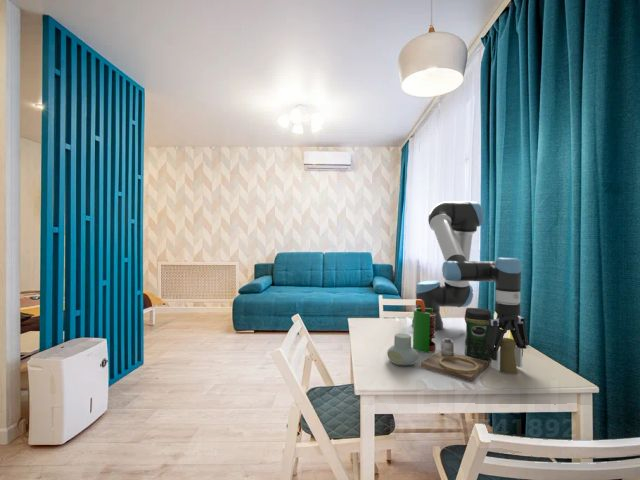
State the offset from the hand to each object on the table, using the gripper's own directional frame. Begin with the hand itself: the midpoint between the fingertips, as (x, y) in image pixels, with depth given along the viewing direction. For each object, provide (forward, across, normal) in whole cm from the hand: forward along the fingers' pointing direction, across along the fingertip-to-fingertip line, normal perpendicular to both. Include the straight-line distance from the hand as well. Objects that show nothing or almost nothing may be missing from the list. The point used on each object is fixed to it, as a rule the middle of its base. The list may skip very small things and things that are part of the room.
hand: (506, 367), depth 110 cm
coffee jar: (+1, 0, +14) cm, 14 cm away
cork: (+1, 0, 0) cm, 1 cm away
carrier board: (+1, -15, +8) cm, 17 cm away
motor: (+1, -14, +27) cm, 31 cm away
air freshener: (+1, -31, +16) cm, 35 cm away
